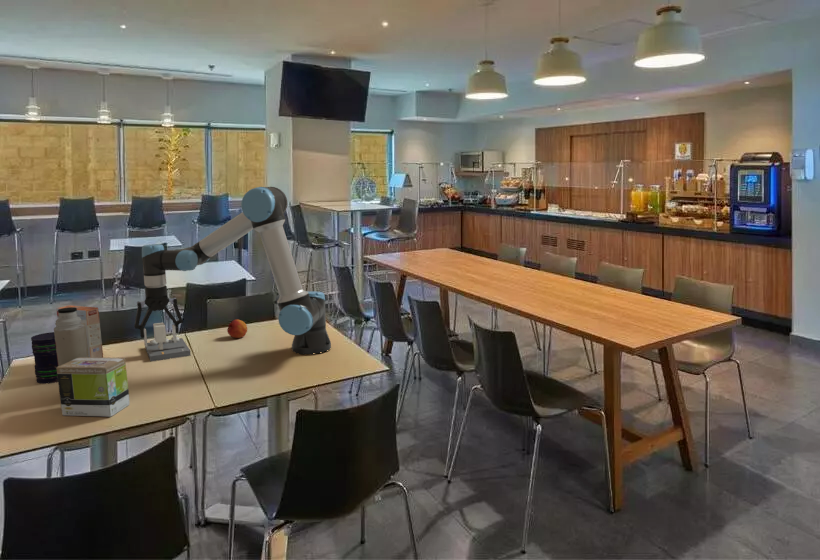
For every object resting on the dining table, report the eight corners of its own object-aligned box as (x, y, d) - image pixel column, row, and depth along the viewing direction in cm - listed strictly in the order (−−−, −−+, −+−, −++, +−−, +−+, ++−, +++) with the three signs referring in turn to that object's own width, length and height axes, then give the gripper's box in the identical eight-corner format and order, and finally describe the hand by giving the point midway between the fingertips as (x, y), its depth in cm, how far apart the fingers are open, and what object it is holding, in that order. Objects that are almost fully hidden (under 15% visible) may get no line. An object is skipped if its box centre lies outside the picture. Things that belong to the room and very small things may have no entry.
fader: (167, 350, 216) (165, 325, 215) (157, 352, 215) (155, 327, 213) (165, 346, 221) (163, 322, 220) (155, 347, 220) (153, 323, 218)
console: (190, 355, 218) (189, 346, 217) (150, 361, 211) (149, 352, 210) (182, 342, 235) (181, 334, 234) (145, 347, 228) (144, 339, 228)
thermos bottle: (56, 402, 173) (45, 311, 168) (70, 392, 181) (59, 305, 176) (84, 401, 174) (74, 311, 169) (96, 391, 182) (87, 305, 177)
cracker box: (105, 362, 211) (99, 306, 207) (91, 367, 205) (84, 310, 201) (76, 358, 215) (70, 304, 211) (61, 363, 210) (55, 307, 206)
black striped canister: (29, 381, 191) (23, 338, 189) (57, 372, 200) (52, 330, 197) (48, 385, 187) (43, 341, 185) (76, 376, 196) (72, 333, 193)
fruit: (227, 336, 245) (226, 317, 243) (247, 334, 247) (246, 316, 246) (227, 341, 237) (226, 322, 236) (248, 339, 240) (247, 320, 238)
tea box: (131, 404, 171) (126, 356, 169) (110, 418, 161) (105, 367, 159) (83, 402, 173) (78, 355, 170) (60, 416, 163) (54, 366, 160)
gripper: (185, 281, 222) (189, 337, 226) (122, 287, 211) (127, 345, 215) (188, 284, 216) (193, 341, 220) (123, 290, 205) (129, 350, 209)
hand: (160, 343), depth 218 cm, fingers open, 9 cm apart
